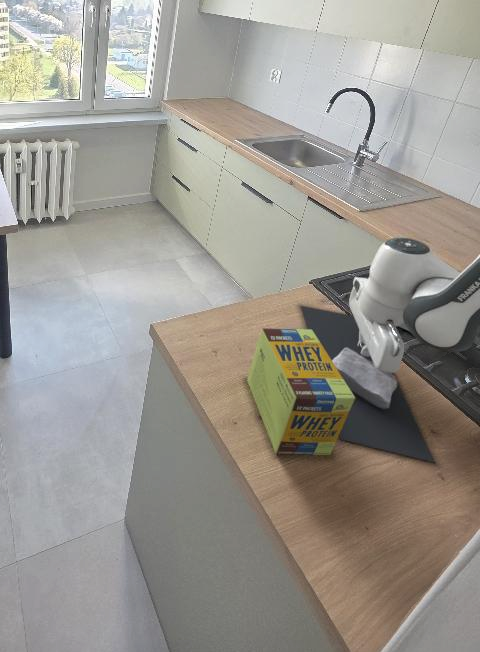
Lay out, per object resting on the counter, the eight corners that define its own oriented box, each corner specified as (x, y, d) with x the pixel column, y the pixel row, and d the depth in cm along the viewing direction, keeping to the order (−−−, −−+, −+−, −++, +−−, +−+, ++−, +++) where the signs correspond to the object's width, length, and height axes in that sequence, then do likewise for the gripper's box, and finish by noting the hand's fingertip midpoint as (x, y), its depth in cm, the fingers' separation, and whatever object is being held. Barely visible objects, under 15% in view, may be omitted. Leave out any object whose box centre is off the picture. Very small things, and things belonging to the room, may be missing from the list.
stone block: (336, 357, 98) (323, 376, 91) (344, 341, 96) (331, 358, 89) (393, 393, 90) (384, 417, 83) (403, 376, 89) (394, 398, 82)
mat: (366, 318, 108) (367, 318, 107) (435, 463, 75) (435, 462, 75) (300, 306, 111) (300, 305, 111) (339, 439, 79) (339, 439, 79)
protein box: (275, 456, 75) (296, 398, 69) (246, 380, 89) (260, 326, 83) (332, 456, 76) (357, 398, 69) (293, 381, 90) (312, 327, 84)
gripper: (421, 346, 79) (396, 395, 85) (381, 277, 98) (363, 322, 103) (384, 339, 81) (362, 387, 86) (352, 272, 99) (336, 316, 105)
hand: (363, 351), depth 95 cm, fingers closed
